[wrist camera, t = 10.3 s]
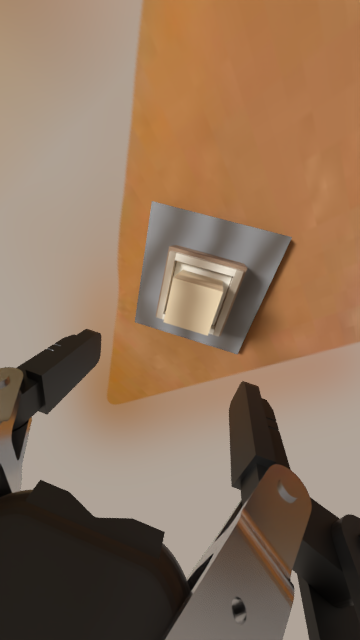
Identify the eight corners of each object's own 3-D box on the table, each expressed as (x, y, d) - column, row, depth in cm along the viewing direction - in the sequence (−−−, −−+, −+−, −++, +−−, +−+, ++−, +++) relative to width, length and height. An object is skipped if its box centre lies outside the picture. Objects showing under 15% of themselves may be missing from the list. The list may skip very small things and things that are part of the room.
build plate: (288, 237, 23) (309, 237, 18) (236, 350, 31) (240, 374, 26) (155, 202, 25) (136, 192, 19) (137, 319, 33) (120, 335, 27)
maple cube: (222, 280, 22) (223, 292, 18) (210, 317, 24) (207, 335, 20) (182, 269, 22) (173, 277, 18) (173, 306, 25) (163, 322, 20)
